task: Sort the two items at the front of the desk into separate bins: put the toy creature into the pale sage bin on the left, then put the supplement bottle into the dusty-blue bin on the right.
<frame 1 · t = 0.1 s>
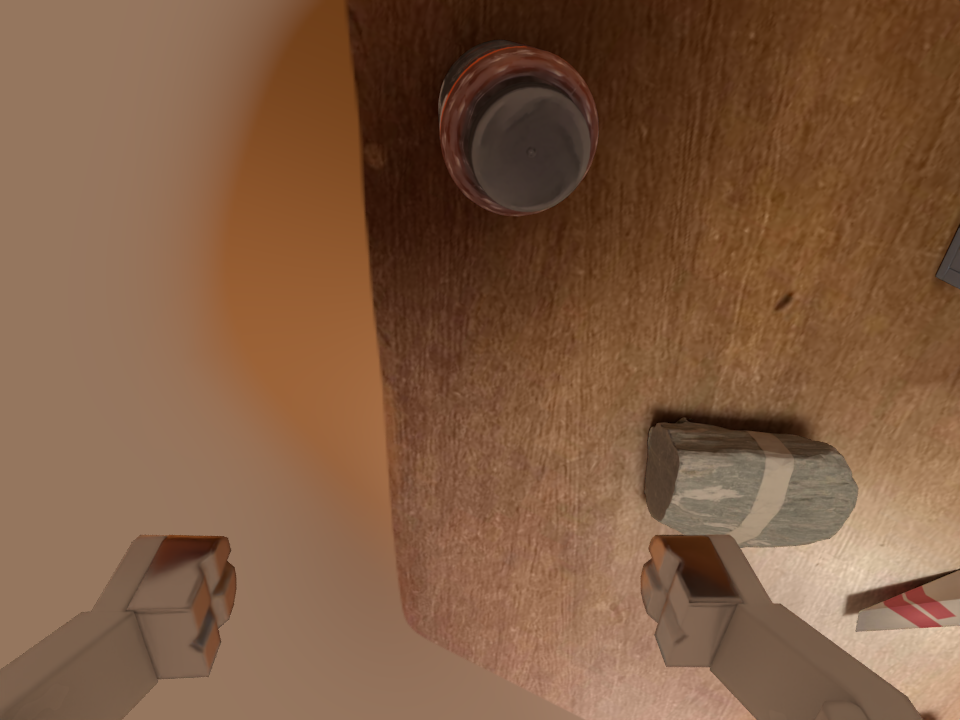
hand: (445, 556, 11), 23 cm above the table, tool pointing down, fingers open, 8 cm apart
decorative stone: (722, 458, 41), on the table
supplement bottle: (498, 107, 29), on the table
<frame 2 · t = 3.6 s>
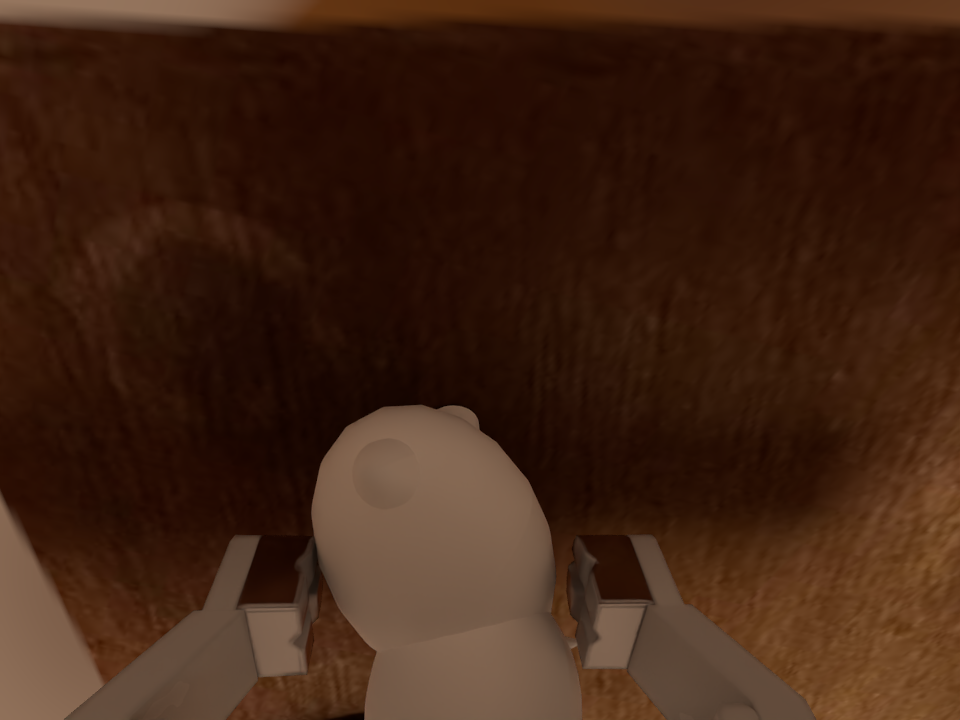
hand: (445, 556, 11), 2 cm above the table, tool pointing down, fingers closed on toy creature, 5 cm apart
toy creature: (443, 489, 13), on the table, touching gripper
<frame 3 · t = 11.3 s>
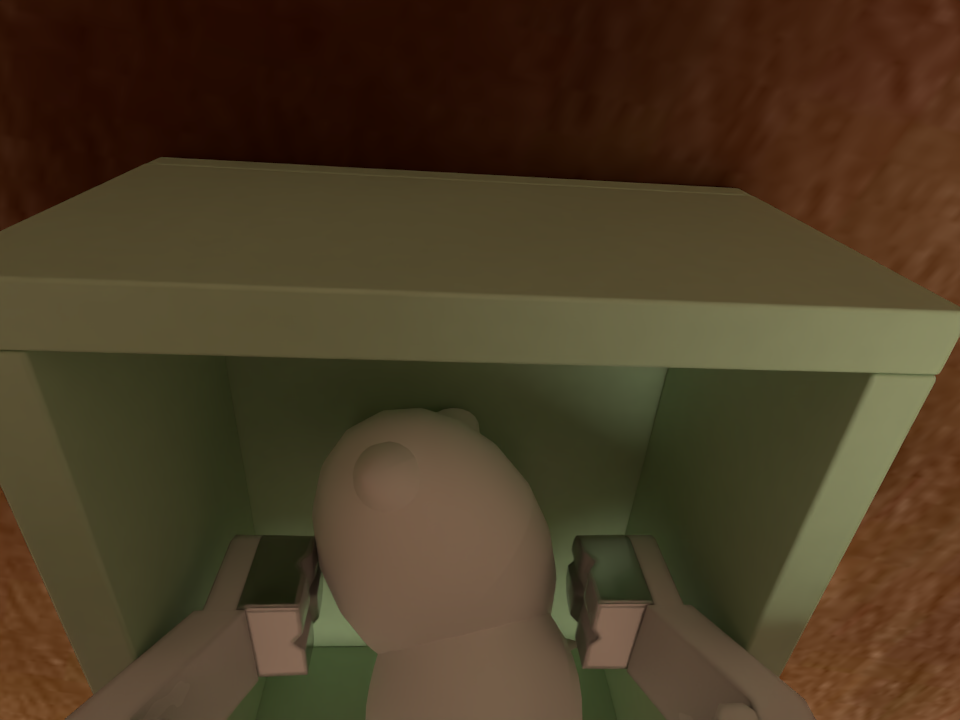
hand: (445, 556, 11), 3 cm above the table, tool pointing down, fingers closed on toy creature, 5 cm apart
toy creature: (443, 492, 14), point 1 cm above the table, touching gripper
sage bin: (447, 463, 14), on the table
when the fingers open (6 cm above the table, at t = 33.9 s): toy creature stays where it is, resting on sage bin.
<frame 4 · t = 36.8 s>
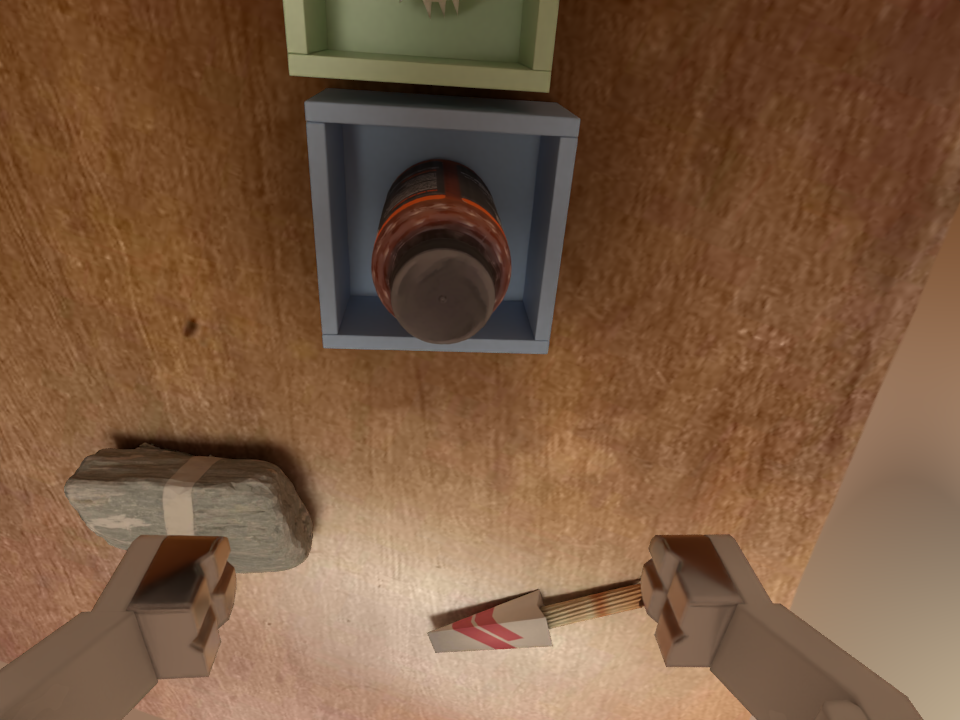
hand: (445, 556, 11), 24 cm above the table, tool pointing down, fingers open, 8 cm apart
decorative stone: (217, 482, 41), on the table
trowel: (546, 600, 50), on the table
supplement bottle: (439, 212, 32), resting on blue bin
blue bin: (440, 210, 32), on the table
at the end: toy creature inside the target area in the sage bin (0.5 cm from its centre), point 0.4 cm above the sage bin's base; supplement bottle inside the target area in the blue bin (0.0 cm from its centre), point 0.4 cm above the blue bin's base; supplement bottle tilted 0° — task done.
